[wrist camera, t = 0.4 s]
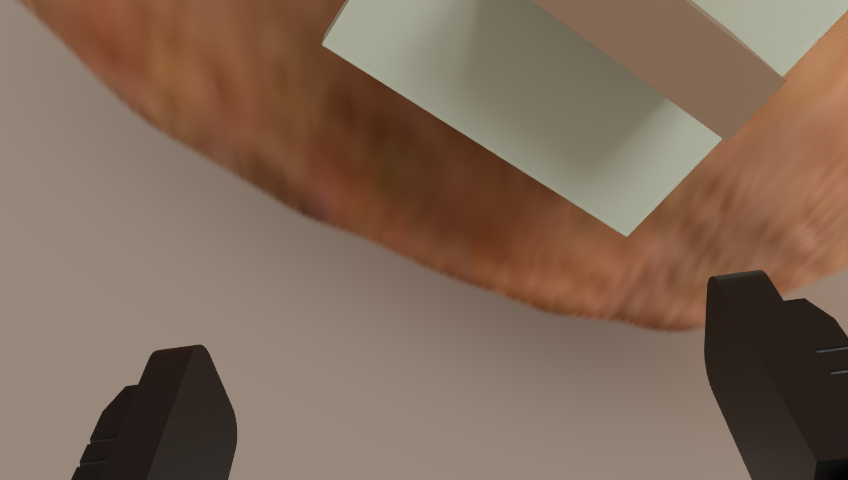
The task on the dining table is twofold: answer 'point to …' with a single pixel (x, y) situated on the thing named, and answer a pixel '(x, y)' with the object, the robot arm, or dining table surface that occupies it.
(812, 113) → the dining table surface
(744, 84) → the lid
